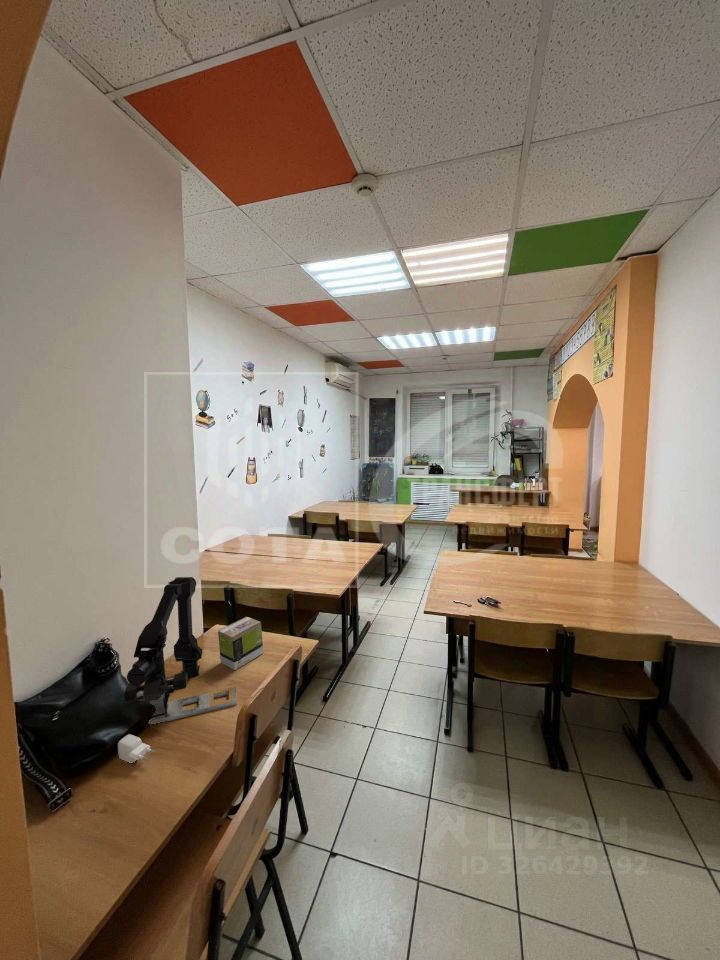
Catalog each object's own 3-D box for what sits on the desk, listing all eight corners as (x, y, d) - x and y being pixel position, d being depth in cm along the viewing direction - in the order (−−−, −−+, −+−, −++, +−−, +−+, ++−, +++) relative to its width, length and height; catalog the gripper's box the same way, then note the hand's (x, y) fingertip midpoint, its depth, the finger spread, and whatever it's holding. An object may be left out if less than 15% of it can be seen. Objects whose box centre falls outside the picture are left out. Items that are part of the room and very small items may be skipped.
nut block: (153, 713, 130) (151, 694, 129) (166, 710, 131) (164, 691, 130) (151, 721, 126) (149, 701, 125) (164, 718, 127) (163, 698, 127)
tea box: (249, 646, 170) (247, 615, 169) (263, 653, 164) (262, 621, 163) (219, 663, 158) (217, 629, 156) (234, 671, 152) (232, 636, 151)
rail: (145, 711, 131) (144, 706, 131) (235, 690, 141) (235, 686, 140) (140, 727, 123) (139, 723, 123) (236, 704, 133) (236, 700, 133)
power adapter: (158, 759, 111) (156, 741, 110) (143, 773, 106) (141, 754, 106) (131, 748, 115) (130, 731, 114) (116, 761, 111) (114, 743, 110)
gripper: (116, 687, 116) (120, 734, 118) (182, 674, 122) (186, 718, 124) (125, 667, 126) (129, 710, 128) (186, 655, 133) (189, 696, 134)
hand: (158, 709), depth 128 cm, fingers closed on nut block, 4 cm apart
